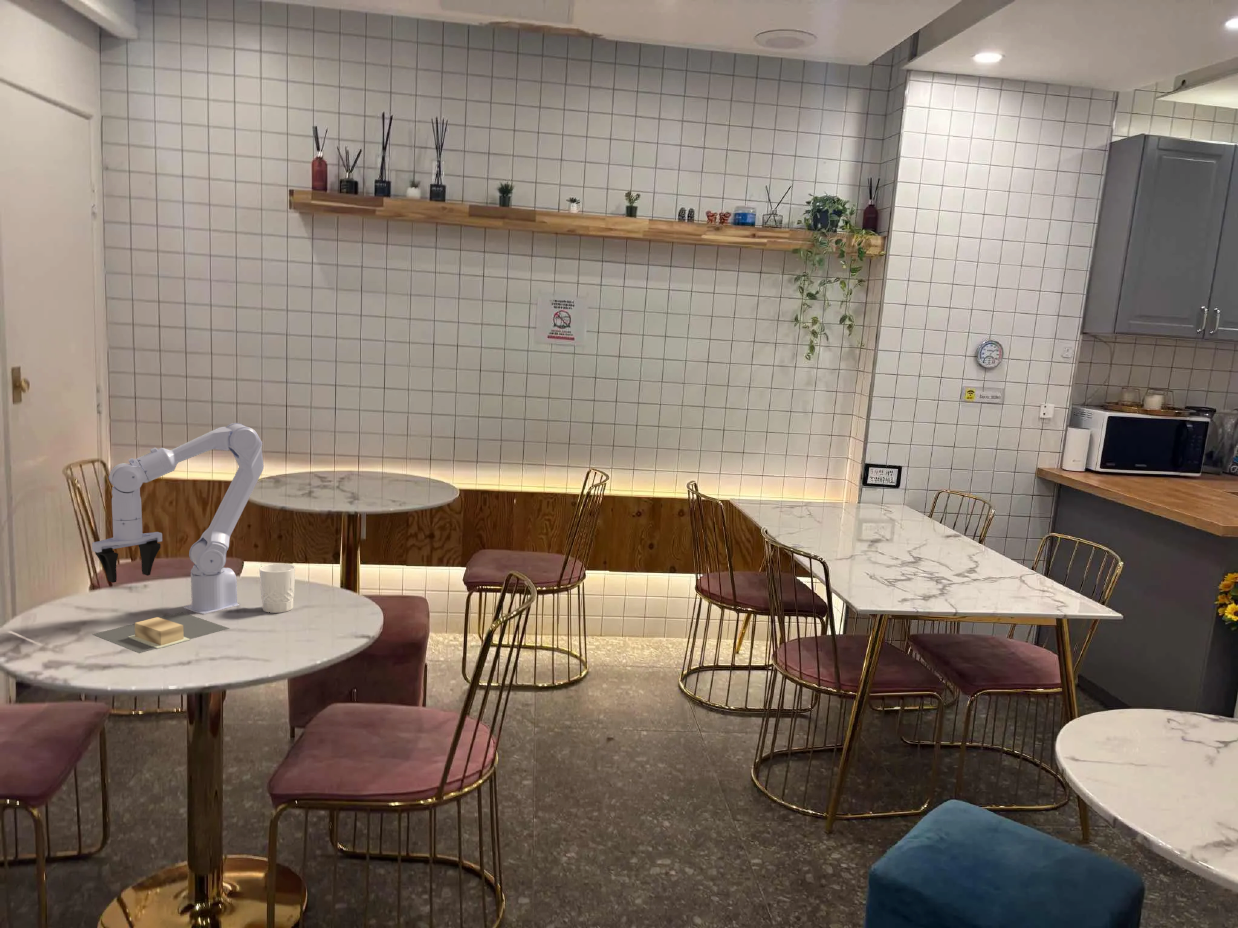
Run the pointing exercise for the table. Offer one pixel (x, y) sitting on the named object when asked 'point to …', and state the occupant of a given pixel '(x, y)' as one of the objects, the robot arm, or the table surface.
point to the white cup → (277, 587)
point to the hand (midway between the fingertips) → (129, 578)
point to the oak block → (159, 631)
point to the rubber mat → (127, 639)
